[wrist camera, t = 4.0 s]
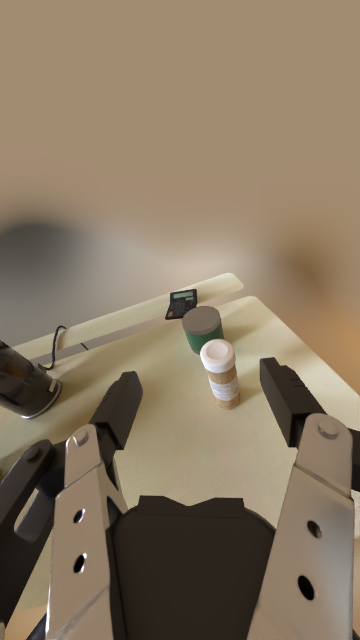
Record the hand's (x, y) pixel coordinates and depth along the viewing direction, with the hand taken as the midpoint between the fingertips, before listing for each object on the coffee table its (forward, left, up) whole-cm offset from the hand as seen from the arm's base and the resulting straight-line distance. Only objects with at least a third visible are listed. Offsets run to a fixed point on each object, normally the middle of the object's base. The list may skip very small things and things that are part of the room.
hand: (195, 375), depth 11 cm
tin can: (-17, +15, -22) cm, 32 cm away
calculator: (-34, +22, -22) cm, 46 cm away
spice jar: (-5, +7, -22) cm, 24 cm away
